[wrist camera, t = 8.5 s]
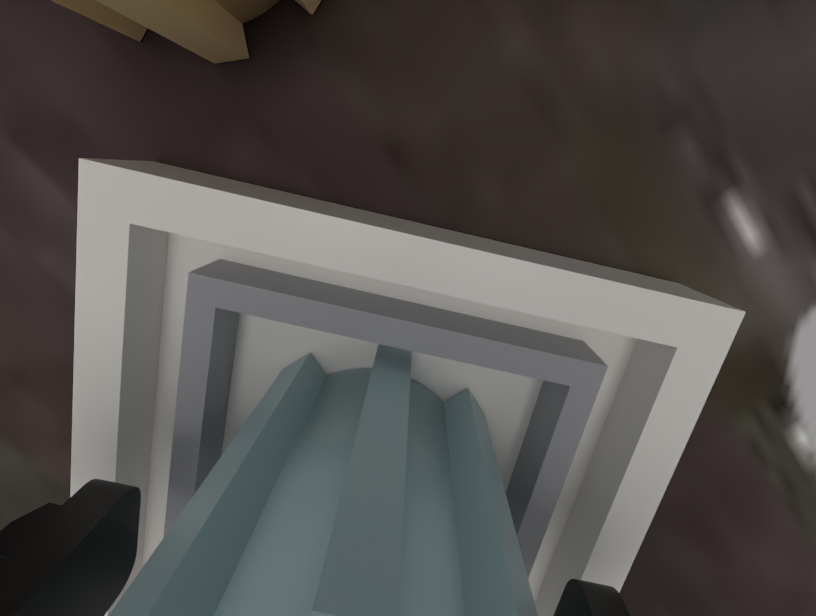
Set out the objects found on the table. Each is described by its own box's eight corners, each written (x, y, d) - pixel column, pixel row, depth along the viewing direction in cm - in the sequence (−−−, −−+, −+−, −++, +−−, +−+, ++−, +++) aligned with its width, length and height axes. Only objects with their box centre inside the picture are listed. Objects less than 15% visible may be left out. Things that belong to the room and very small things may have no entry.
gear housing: (153, 161, 11) (78, 158, 9) (678, 282, 12) (746, 312, 9) (113, 737, 17) (61, 833, 14) (469, 804, 17) (477, 907, 15)
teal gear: (524, 376, 11) (723, 764, 4) (457, 580, 13) (504, 1116, 6) (263, 316, 11) (-59, 608, 4) (230, 533, 13) (-30, 1026, 5)
